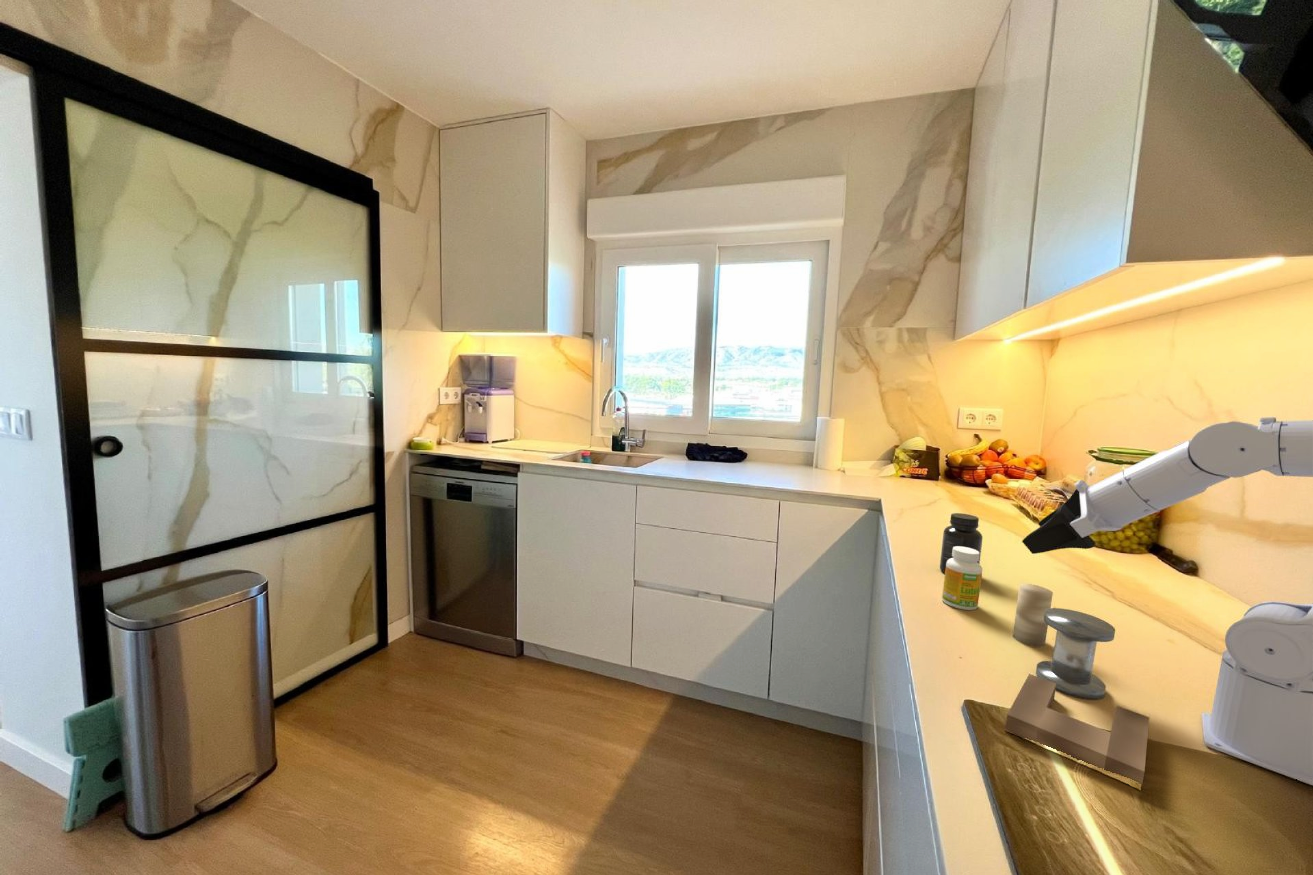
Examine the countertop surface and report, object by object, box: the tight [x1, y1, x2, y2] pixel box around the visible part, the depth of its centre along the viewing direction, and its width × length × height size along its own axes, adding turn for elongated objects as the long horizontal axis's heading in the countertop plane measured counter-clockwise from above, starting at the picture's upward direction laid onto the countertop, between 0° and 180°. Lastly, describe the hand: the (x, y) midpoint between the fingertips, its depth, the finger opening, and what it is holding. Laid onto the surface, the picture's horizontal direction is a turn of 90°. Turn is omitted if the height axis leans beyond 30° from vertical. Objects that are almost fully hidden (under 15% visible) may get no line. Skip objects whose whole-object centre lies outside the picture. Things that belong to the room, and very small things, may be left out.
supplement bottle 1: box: [939, 512, 983, 575], centre depth 105 cm, size 7×7×12 cm
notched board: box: [1004, 673, 1150, 786], centre depth 57 cm, size 11×12×2 cm
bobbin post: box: [1035, 607, 1116, 701], centre depth 67 cm, size 7×7×8 cm
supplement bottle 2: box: [941, 546, 983, 611], centre depth 90 cm, size 5×5×10 cm
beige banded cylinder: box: [1012, 583, 1054, 648], centre depth 78 cm, size 4×4×8 cm
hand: (1035, 537), depth 73 cm, fingers open, 7 cm apart
